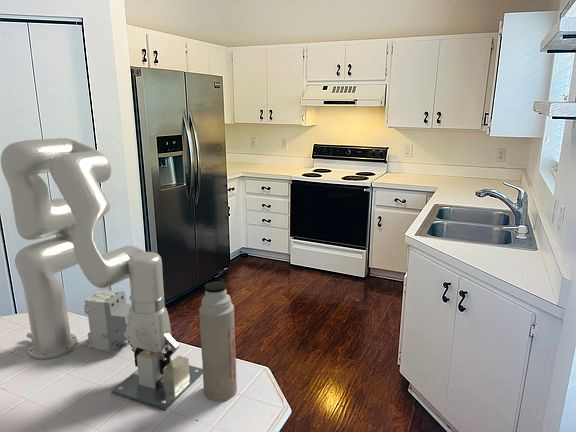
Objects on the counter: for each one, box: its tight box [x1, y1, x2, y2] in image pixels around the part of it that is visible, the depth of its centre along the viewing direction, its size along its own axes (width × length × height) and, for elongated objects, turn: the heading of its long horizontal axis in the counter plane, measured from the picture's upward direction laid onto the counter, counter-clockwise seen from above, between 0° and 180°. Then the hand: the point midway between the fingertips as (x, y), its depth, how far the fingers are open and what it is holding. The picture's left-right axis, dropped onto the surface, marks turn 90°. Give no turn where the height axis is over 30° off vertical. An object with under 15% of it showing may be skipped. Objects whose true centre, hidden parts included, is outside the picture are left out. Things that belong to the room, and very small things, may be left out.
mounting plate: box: [110, 355, 203, 412], centre depth 106 cm, size 16×16×7 cm
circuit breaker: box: [83, 289, 132, 352], centre depth 122 cm, size 8×14×15 cm, turn 78°
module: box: [137, 346, 172, 389], centre depth 106 cm, size 4×7×9 cm, turn 157°
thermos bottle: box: [198, 281, 238, 403], centre depth 100 cm, size 8×8×28 cm
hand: (152, 367), depth 106 cm, fingers open, 7 cm apart
